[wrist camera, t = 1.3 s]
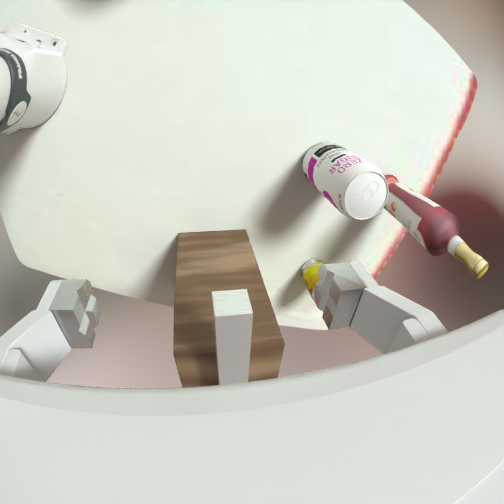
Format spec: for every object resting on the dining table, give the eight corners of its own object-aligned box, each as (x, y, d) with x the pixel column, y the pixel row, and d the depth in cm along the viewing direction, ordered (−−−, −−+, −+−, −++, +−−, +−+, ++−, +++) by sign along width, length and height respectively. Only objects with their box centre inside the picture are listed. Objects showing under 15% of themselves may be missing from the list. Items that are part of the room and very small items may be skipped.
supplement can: (326, 192, 50) (367, 233, 38) (291, 169, 47) (328, 205, 34) (351, 158, 47) (401, 188, 35) (319, 131, 44) (366, 154, 31)
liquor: (362, 186, 51) (463, 273, 28) (388, 164, 49) (497, 237, 26) (376, 211, 54) (466, 300, 31) (401, 190, 53) (497, 268, 30)
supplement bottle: (295, 267, 58) (312, 300, 50) (318, 253, 57) (338, 284, 49) (306, 283, 61) (322, 316, 53) (327, 270, 60) (347, 301, 52)
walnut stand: (178, 233, 49) (173, 354, 28) (245, 229, 51) (284, 344, 30) (184, 289, 56) (188, 406, 35) (243, 285, 58) (272, 398, 37)
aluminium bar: (211, 291, 24) (214, 316, 22) (246, 288, 25) (253, 313, 22) (219, 400, 35) (222, 418, 32) (241, 397, 35) (245, 416, 33)
